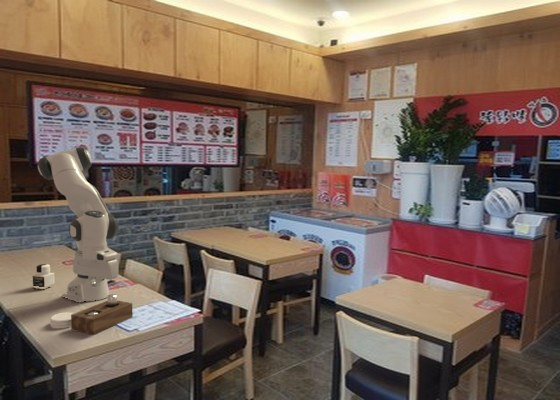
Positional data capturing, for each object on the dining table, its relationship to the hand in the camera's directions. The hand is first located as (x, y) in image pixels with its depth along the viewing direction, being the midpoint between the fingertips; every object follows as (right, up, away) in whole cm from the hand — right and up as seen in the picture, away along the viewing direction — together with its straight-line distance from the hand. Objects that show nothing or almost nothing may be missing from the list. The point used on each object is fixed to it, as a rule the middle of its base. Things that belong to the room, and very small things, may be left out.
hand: (95, 287), depth 163 cm
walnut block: (+1, -16, +5) cm, 17 cm away
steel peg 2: (+3, -10, +9) cm, 14 cm away
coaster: (-14, -16, +4) cm, 22 cm away
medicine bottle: (-50, -11, +52) cm, 72 cm away
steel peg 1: (-1, -15, +1) cm, 15 cm away
